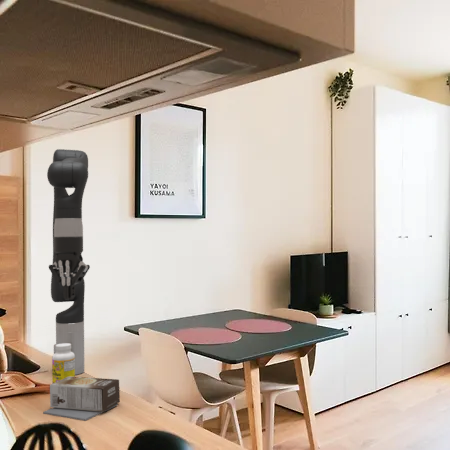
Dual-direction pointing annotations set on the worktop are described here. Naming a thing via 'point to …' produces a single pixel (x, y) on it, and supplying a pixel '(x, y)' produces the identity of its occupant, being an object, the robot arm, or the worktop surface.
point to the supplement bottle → (63, 362)
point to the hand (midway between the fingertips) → (69, 299)
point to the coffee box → (85, 393)
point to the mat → (73, 413)
